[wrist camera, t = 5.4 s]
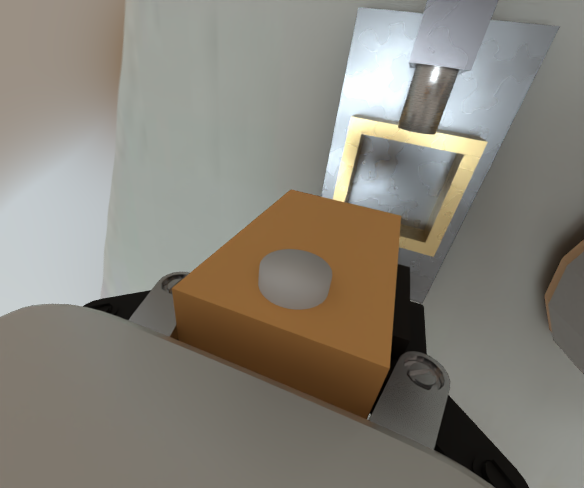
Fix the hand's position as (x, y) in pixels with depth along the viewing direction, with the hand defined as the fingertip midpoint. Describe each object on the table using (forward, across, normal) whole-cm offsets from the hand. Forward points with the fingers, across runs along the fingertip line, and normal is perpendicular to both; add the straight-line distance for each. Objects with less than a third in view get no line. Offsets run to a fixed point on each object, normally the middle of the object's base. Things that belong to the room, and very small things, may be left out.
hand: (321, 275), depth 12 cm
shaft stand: (+17, -2, +1) cm, 17 cm away
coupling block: (+2, 0, 0) cm, 2 cm away
